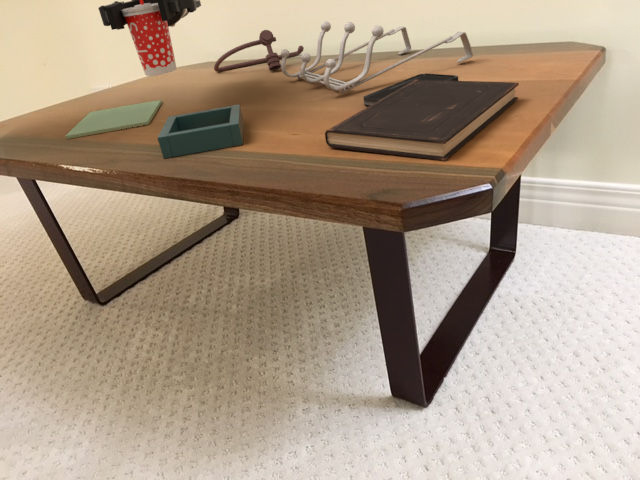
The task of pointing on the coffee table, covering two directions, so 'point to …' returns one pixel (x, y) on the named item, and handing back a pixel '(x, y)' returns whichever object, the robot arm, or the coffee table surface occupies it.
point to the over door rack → (377, 35)
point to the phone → (388, 90)
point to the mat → (115, 119)
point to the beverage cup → (150, 38)
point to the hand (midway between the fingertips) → (137, 14)
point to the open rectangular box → (202, 131)
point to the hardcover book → (424, 118)
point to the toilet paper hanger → (271, 59)
